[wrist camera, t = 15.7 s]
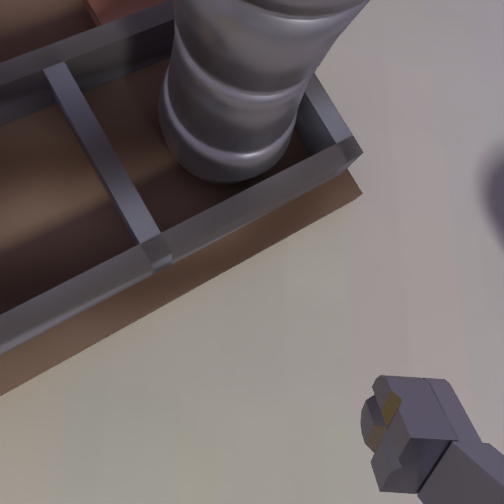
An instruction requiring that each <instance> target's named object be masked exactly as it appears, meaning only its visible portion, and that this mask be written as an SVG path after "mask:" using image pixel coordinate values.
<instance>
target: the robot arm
mask: <svg viewBox="0 0 504 504" xmlns="http://www.w3.org/2000/svg"><path fill="white" fill-rule="evenodd" d="M372 388H373V391H374V394H375V395H373V396H372V397H370V398H369V399H367V400H366V401H365V403H364V406H363V408H362V411H361V431H362V436H363V439H364V442H365V444H366V445H367V446H368V447H369V448H370V449H371V450H372V451H373V452H374V455H373V458H372V460H371V465H372V468H373V472H374V475H375V478H376V481H377V484H378V487H379V491H380V492H394V493H411V494H418V495H417V497H418V498H419V499H420V500H421V501H422V503H423V504H504V455H503V454H501V453H500V452H499V451H498V450H497V449H495V448H494V447H493V446H492V445H490V444H489V443H482V441H481V439H480V437H479V436H478V434H477V432H476V430H475V428H474V426H473V425H472V423H471V421H470V419H469V417H468V416H467V414H466V412H465V410H464V408H463V406H462V405H461V403H460V401H459V399H458V397H457V396H456V394H455V392H454V390H453V388H452V386H451V385H450V383H449V382H447V381H446V380H445V379H432V378H419V377H403V376H387V375H380V376H379V377H378V378H376V380H375V382H374V384H373V386H372Z"/></svg>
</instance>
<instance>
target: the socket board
mask: <svg viewBox="0 0 504 504" xmlns="http://www.w3.org/2000/svg"><path fill="white" fill-rule="evenodd" d="M174 15H175V13H174V0H0V396H1V395H3V394H5V393H7V392H9V391H10V390H12V389H14V388H16V387H18V386H19V385H21V384H23V383H25V382H27V381H28V380H30V379H32V378H34V377H36V376H37V375H39V374H41V373H43V372H45V371H46V370H48V369H50V368H52V367H54V366H55V365H57V364H59V363H61V362H63V361H64V360H66V359H68V358H70V357H72V356H73V355H75V354H77V353H79V352H81V351H82V350H84V349H86V348H88V347H90V346H91V345H93V344H95V343H97V342H99V341H101V340H102V339H104V338H106V337H108V336H110V335H111V334H113V333H115V332H117V331H119V330H120V329H122V328H124V327H126V326H128V325H129V324H131V323H133V322H135V321H137V320H138V319H140V318H142V317H144V316H146V315H147V314H149V313H151V312H153V311H155V310H156V309H158V308H160V307H162V306H164V305H165V304H167V303H169V302H171V301H173V300H174V299H176V298H178V297H180V296H182V295H183V294H185V293H187V292H189V291H191V290H192V289H194V288H196V287H198V286H200V285H201V284H203V283H205V282H207V281H209V280H210V279H212V278H214V277H216V276H218V275H219V274H221V273H223V272H225V271H227V270H228V269H230V268H232V267H234V266H236V265H238V264H239V263H241V262H243V261H245V260H247V259H248V258H250V257H252V256H254V255H256V254H257V253H259V252H261V251H263V250H265V249H266V248H268V247H270V246H272V245H274V244H275V243H277V242H279V241H281V240H283V239H284V238H286V237H288V236H290V235H292V234H293V233H295V232H297V231H299V230H301V229H302V228H304V227H306V226H308V225H310V224H311V223H313V222H315V221H317V220H319V219H320V218H322V217H324V216H326V215H328V214H329V213H331V212H333V211H335V210H337V209H338V208H340V207H342V206H344V205H346V204H347V203H349V202H351V201H353V200H355V199H356V198H357V197H359V196H360V195H361V194H363V193H362V192H361V190H360V189H359V187H358V185H357V184H356V182H355V180H354V179H353V177H352V176H351V174H350V172H349V171H348V169H347V168H348V167H349V166H350V165H351V164H352V163H353V162H354V161H355V160H356V159H357V158H358V157H359V156H360V155H361V154H362V153H363V151H362V149H361V148H360V146H359V144H358V143H357V141H356V140H355V138H354V136H353V135H352V133H351V132H350V130H349V128H348V127H347V125H346V123H345V122H344V120H343V119H342V117H341V115H340V114H339V112H338V110H337V109H336V107H335V106H334V104H333V102H332V101H331V99H330V97H329V96H328V94H327V93H326V91H325V89H324V88H323V86H322V85H321V83H320V81H319V80H318V78H317V76H316V75H315V73H314V74H313V76H312V77H311V79H310V80H309V82H308V84H307V87H306V89H305V92H304V94H303V97H302V99H301V102H300V104H299V107H298V110H297V116H296V122H295V125H294V129H293V133H292V136H291V139H290V142H289V145H288V147H287V149H286V151H285V153H284V155H283V156H282V157H281V158H280V160H279V161H278V162H277V163H276V164H275V165H274V166H273V167H271V168H270V169H269V170H268V171H266V172H265V173H264V174H262V175H261V176H259V177H258V178H256V179H254V180H252V181H250V182H248V183H243V184H239V185H228V186H224V185H217V184H212V183H209V182H206V181H203V180H201V179H199V178H197V177H196V176H194V175H192V174H190V173H189V172H188V171H187V170H186V169H184V168H183V167H182V166H181V165H180V164H179V163H178V161H177V160H176V159H175V158H174V156H173V155H172V153H171V151H170V149H169V148H168V146H167V143H166V141H165V138H164V136H163V133H162V130H161V126H160V123H159V116H158V102H159V95H160V91H161V86H162V82H163V79H164V76H165V74H166V71H167V68H168V66H169V64H170V58H171V52H172V46H173V40H174V34H175V25H174Z"/></svg>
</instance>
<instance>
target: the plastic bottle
mask: <svg viewBox="0 0 504 504" xmlns="http://www.w3.org/2000/svg"><path fill="white" fill-rule="evenodd" d="M369 1H370V0H174V13H175V15H174V25H175V34H174V40H173V46H172V52H171V58H170V64H169V66H168V68H167V71H166V74H165V76H164V79H163V82H162V86H161V91H160V95H159V102H158V116H159V123H160V126H161V130H162V133H163V136H164V138H165V141H166V143H167V146H168V148H169V149H170V151H171V153H172V155H173V156H174V158H175V159H176V160H177V161H178V163H179V164H180V165H181V166H182V167H183V168H184V169H186V170H187V171H188V172H189V173H190V174H192V175H194V176H196V177H197V178H199V179H201V180H203V181H206V182H209V183H212V184H217V185H224V186H228V185H239V184H243V183H248V182H250V181H252V180H254V179H256V178H258V177H259V176H261V175H262V174H264V173H265V172H266V171H268V170H269V169H270V168H271V167H273V166H274V165H275V164H276V163H277V162H278V161H279V160H280V158H281V157H282V156H283V155H284V153H285V151H286V149H287V147H288V145H289V142H290V139H291V136H292V133H293V129H294V125H295V122H296V116H297V110H298V107H299V104H300V102H301V99H302V97H303V94H304V92H305V89H306V87H307V84H308V82H309V80H310V79H311V77H312V76H313V74H314V72H315V71H316V69H317V67H318V66H319V65H320V63H321V62H322V60H323V59H324V57H325V56H326V54H327V53H328V51H329V50H330V48H331V47H332V45H333V44H334V42H335V41H336V39H337V38H338V37H339V36H340V35H341V33H342V32H343V31H344V30H345V29H346V28H347V26H348V25H349V24H350V23H351V22H352V21H353V19H354V18H355V17H356V16H357V15H358V14H359V12H360V11H361V10H362V9H363V8H364V7H365V5H366V4H367V3H368V2H369Z"/></svg>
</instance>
